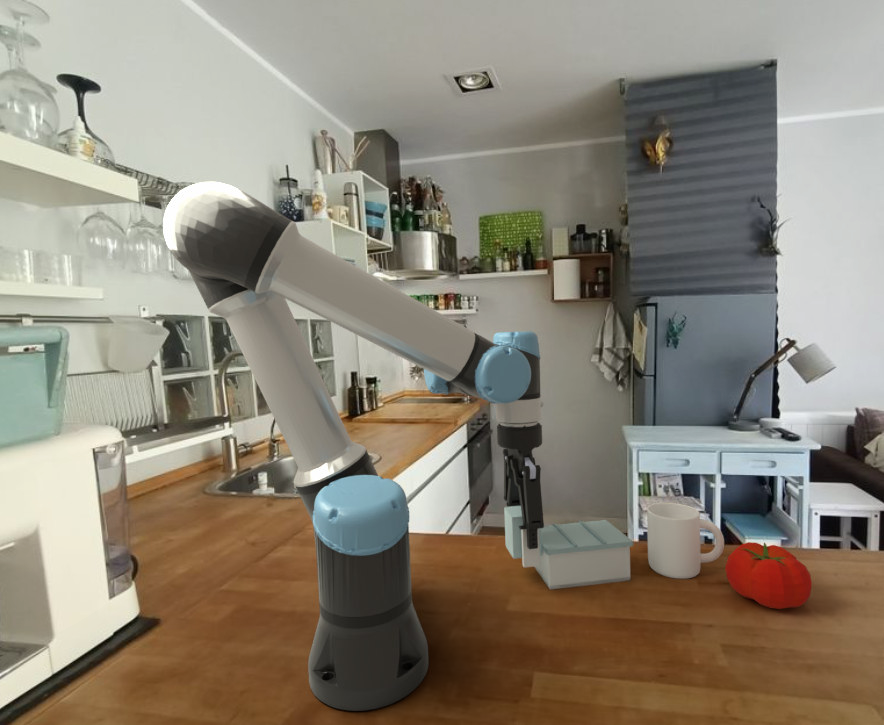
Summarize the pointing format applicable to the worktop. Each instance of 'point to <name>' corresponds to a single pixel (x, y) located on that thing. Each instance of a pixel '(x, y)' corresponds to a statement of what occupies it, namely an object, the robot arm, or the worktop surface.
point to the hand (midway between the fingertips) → (523, 554)
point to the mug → (678, 540)
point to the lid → (563, 535)
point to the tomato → (768, 575)
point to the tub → (585, 567)
